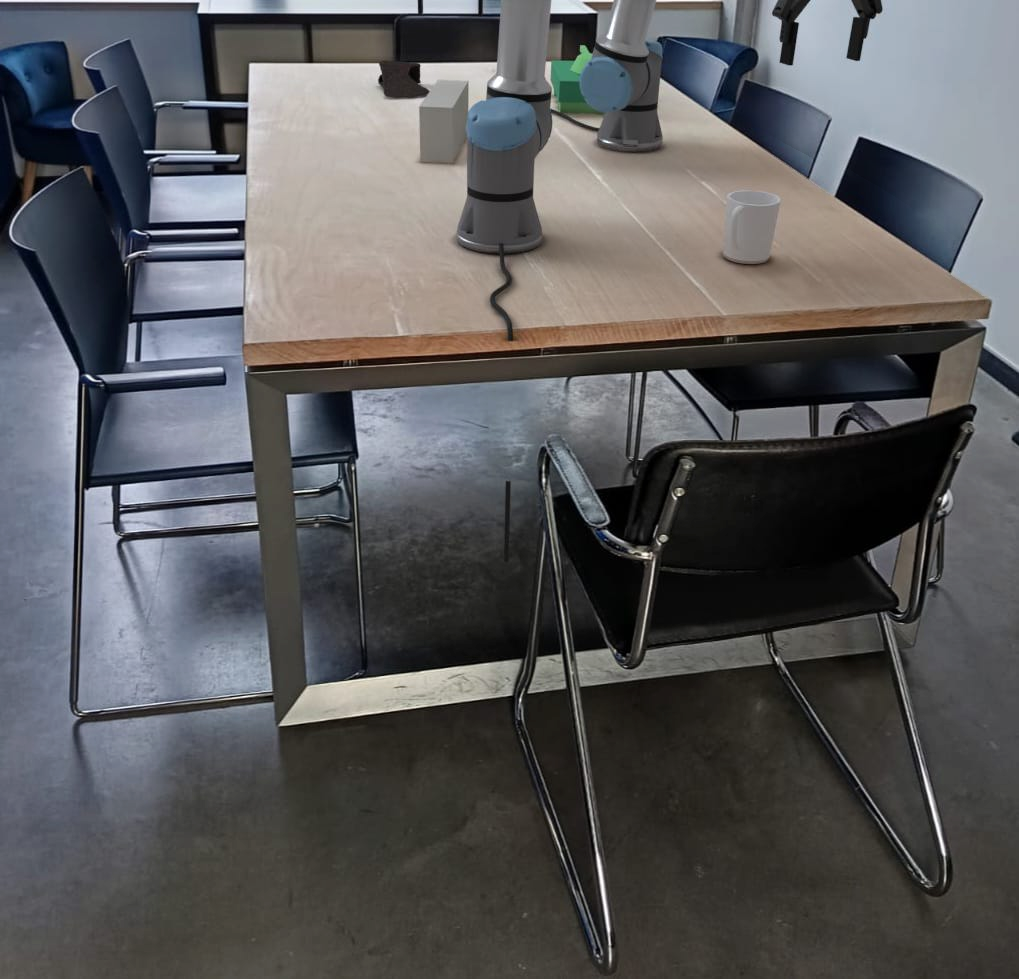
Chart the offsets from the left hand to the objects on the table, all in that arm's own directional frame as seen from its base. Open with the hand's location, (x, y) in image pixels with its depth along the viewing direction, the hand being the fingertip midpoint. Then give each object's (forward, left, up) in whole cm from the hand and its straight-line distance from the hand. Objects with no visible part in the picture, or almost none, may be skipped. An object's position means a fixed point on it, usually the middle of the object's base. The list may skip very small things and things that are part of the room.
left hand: (819, 62), depth 183 cm
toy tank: (+106, +44, -31) cm, 119 cm away
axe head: (+109, +95, -31) cm, 148 cm away
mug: (-12, +9, -31) cm, 34 cm away
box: (+53, +73, -31) cm, 96 cm away
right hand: (+64, +74, -4) cm, 97 cm away
